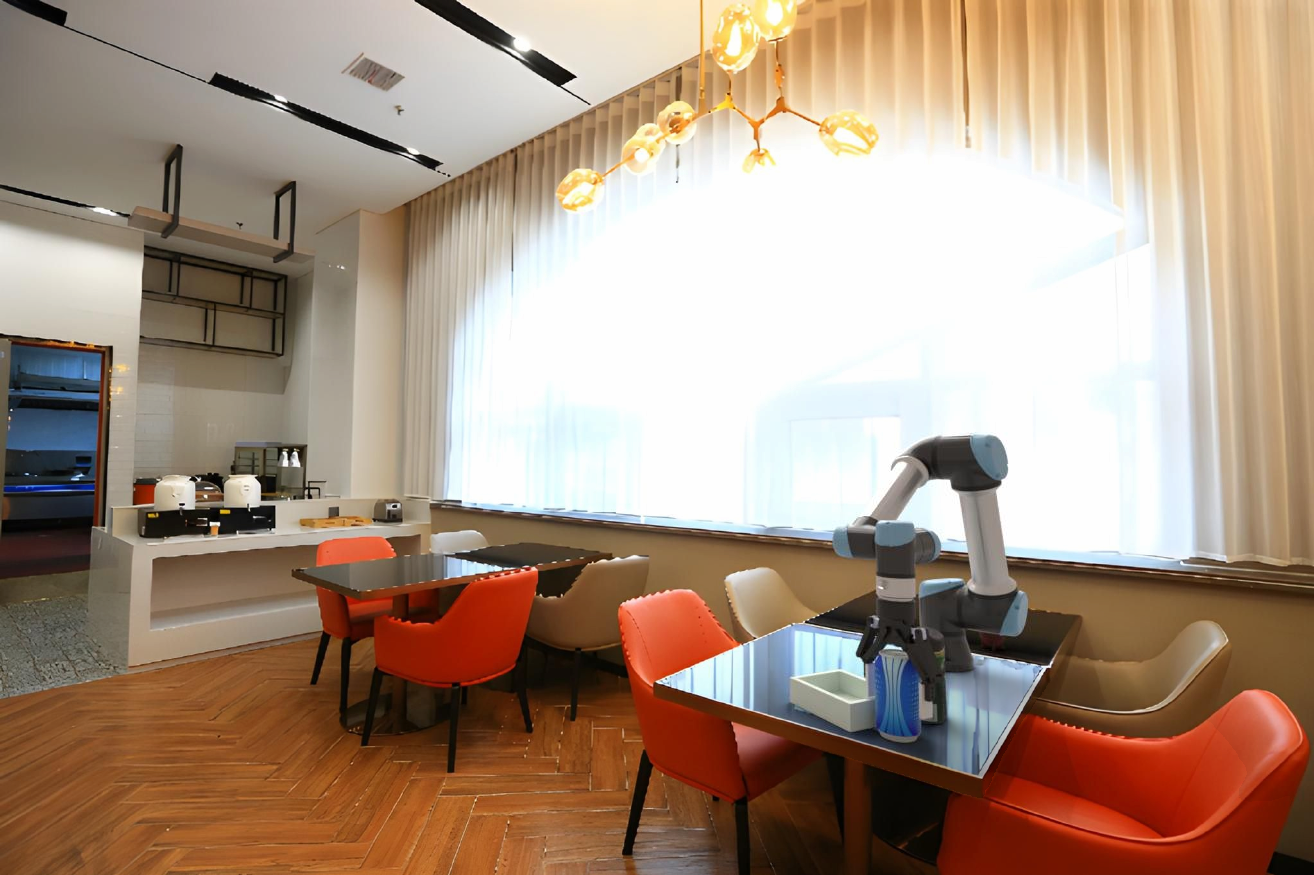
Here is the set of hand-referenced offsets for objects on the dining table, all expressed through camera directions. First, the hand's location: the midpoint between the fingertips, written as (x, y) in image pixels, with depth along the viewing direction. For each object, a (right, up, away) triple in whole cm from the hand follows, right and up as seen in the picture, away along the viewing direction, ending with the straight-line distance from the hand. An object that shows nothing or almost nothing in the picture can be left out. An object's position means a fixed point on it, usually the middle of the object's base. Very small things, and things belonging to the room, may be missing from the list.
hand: (897, 706), depth 125 cm
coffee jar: (+10, -7, +9) cm, 15 cm away
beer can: (0, -6, 0) cm, 6 cm away
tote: (-6, -7, +13) cm, 16 cm away
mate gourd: (+55, -11, +66) cm, 86 cm away
